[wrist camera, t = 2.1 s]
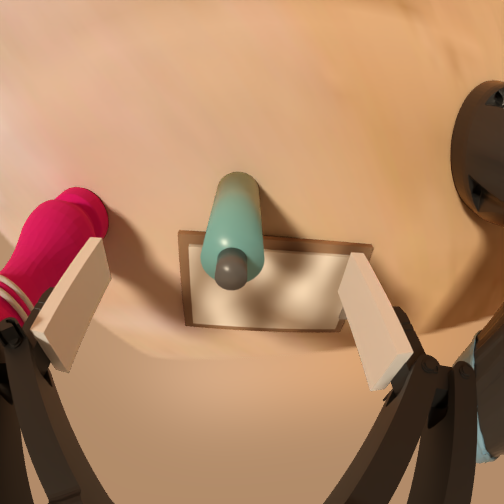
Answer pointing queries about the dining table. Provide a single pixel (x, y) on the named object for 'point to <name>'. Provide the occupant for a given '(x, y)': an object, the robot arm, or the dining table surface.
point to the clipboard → (270, 287)
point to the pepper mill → (49, 248)
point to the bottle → (234, 233)
